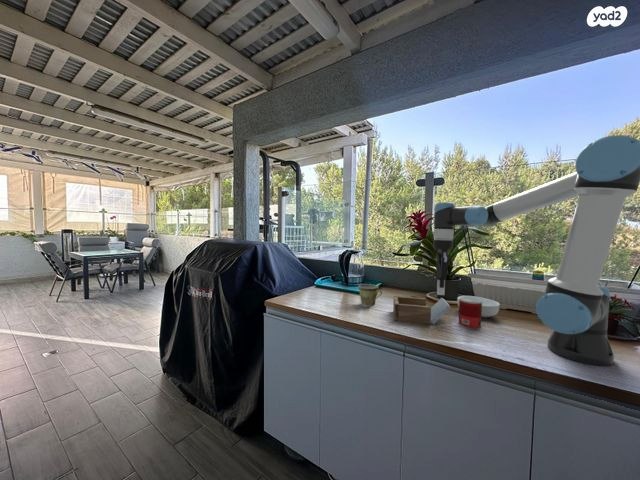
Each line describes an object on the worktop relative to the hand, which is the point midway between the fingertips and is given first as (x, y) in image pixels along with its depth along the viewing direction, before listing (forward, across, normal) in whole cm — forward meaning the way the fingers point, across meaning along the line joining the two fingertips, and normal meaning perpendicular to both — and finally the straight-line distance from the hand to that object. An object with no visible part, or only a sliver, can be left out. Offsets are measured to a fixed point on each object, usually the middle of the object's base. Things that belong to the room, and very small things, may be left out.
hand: (440, 294), depth 110 cm
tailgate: (+7, 0, 0) cm, 7 cm away
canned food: (+12, +2, +11) cm, 17 cm away
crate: (+12, 0, -12) cm, 17 cm away
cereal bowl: (+12, -14, +19) cm, 27 cm away
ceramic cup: (+12, -14, -30) cm, 35 cm away
